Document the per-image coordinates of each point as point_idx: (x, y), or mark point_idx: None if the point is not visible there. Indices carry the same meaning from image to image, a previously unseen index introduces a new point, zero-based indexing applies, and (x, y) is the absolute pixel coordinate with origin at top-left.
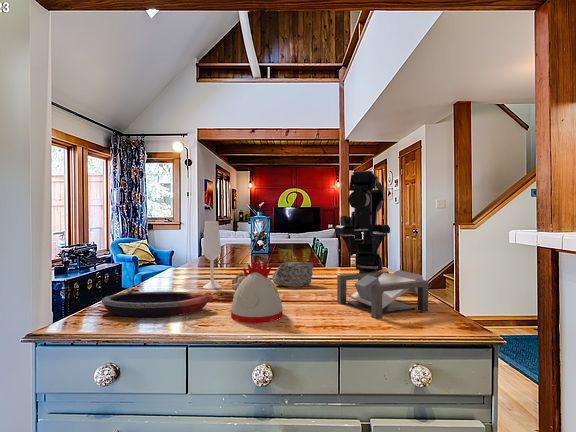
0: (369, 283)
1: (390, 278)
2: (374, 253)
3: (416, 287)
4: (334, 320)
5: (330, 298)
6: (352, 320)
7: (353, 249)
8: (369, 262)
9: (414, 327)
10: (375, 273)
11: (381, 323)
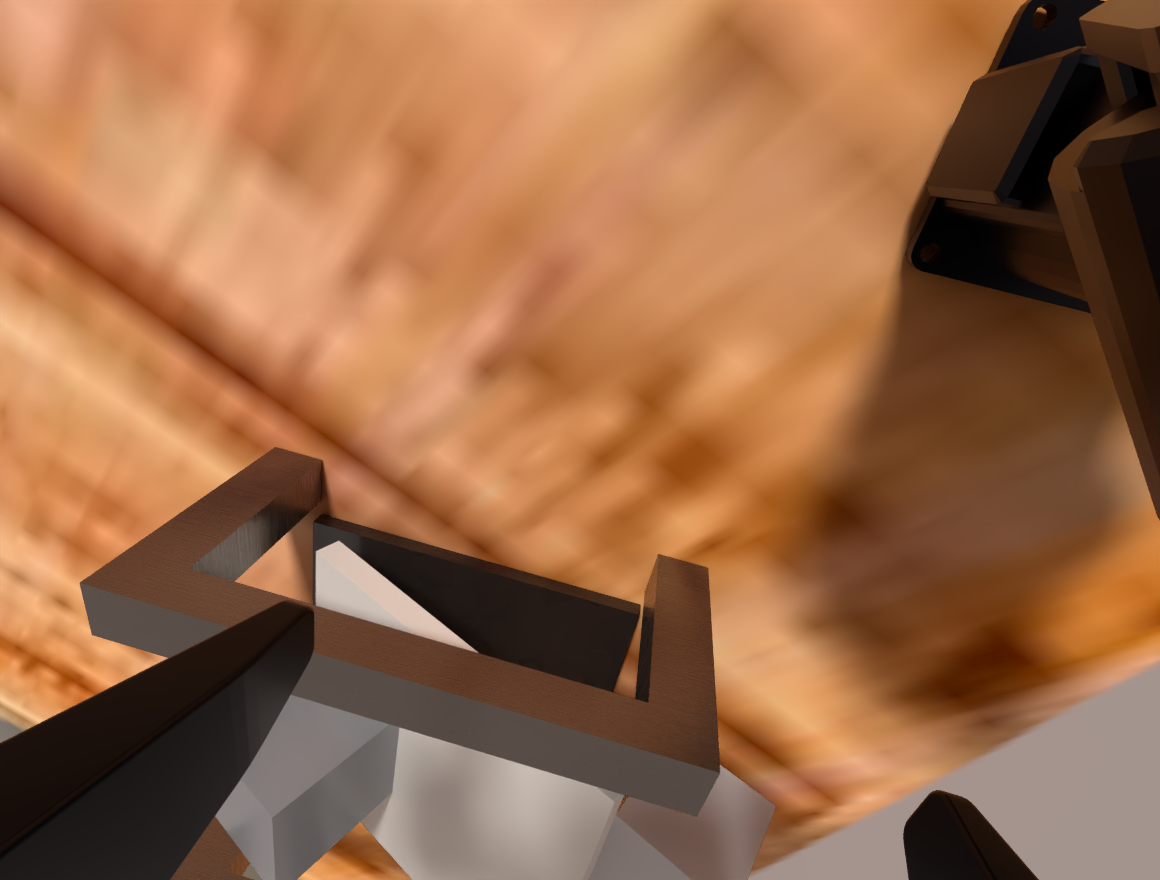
0: (229, 834)
1: (529, 851)
2: (906, 858)
3: None
4: (102, 642)
5: (297, 318)
6: None
7: (190, 839)
8: (1129, 420)
9: (351, 856)
10: (515, 756)
11: None
